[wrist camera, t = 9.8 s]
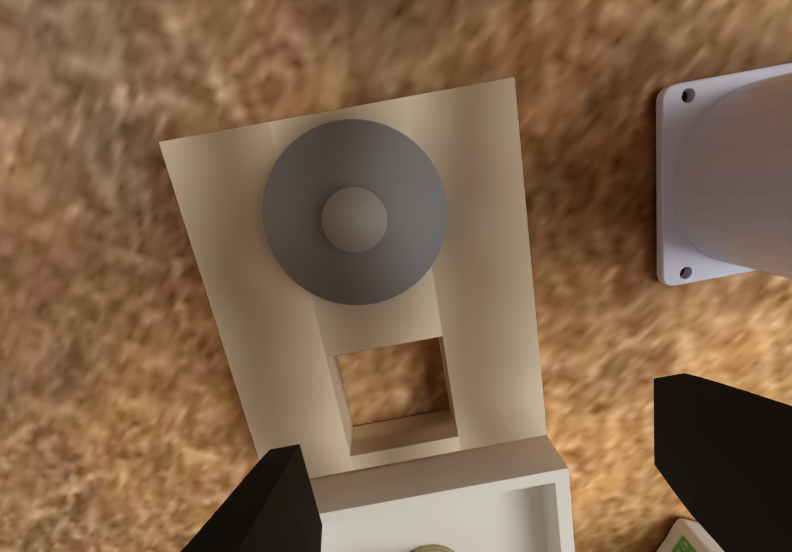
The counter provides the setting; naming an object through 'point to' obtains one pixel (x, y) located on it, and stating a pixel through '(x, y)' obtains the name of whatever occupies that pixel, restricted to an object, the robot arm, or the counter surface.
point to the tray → (452, 502)
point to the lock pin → (432, 548)
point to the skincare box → (688, 538)
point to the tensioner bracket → (369, 268)
